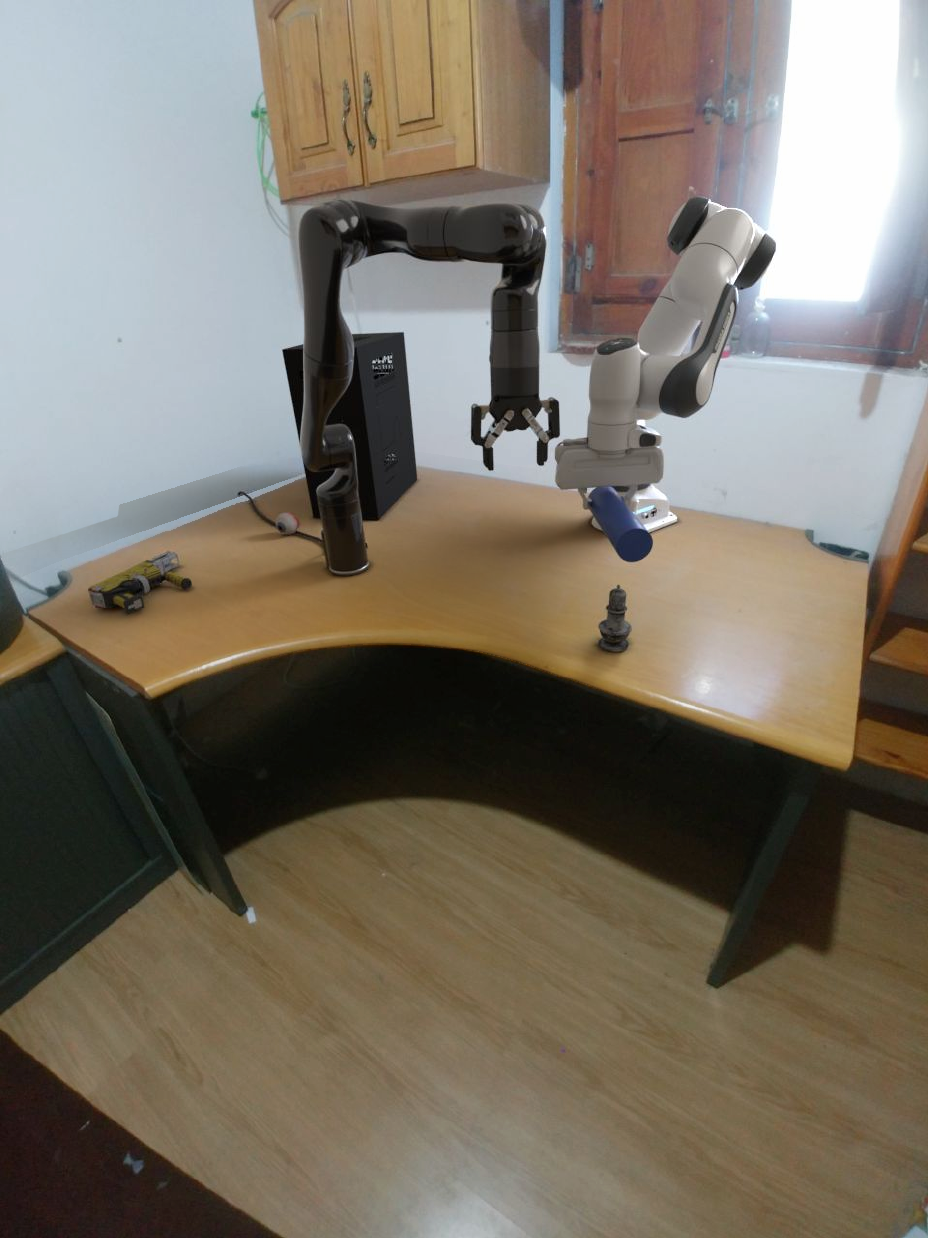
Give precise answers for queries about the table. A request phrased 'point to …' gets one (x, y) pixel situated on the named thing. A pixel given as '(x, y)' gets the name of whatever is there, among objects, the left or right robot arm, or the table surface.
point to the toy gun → (136, 583)
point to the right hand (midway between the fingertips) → (606, 507)
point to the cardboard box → (368, 420)
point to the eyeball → (287, 523)
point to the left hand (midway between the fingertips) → (515, 467)
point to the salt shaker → (615, 623)
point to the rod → (620, 525)
